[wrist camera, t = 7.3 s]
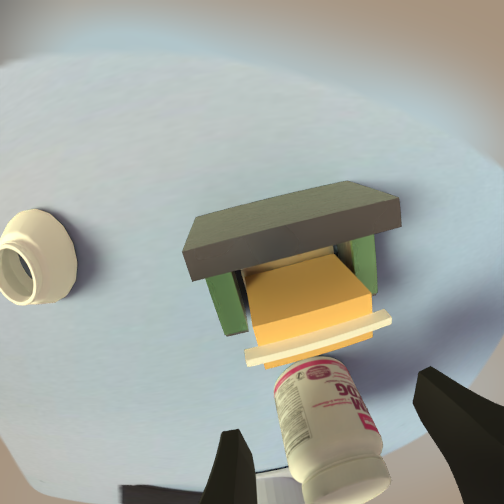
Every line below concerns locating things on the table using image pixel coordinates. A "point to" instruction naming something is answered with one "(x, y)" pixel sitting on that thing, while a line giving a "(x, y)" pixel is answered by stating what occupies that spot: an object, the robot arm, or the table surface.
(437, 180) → the table surface
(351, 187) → the grey drawer frame
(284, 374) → the pill bottle
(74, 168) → the table surface
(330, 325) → the orange block with lip
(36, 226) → the white jar
